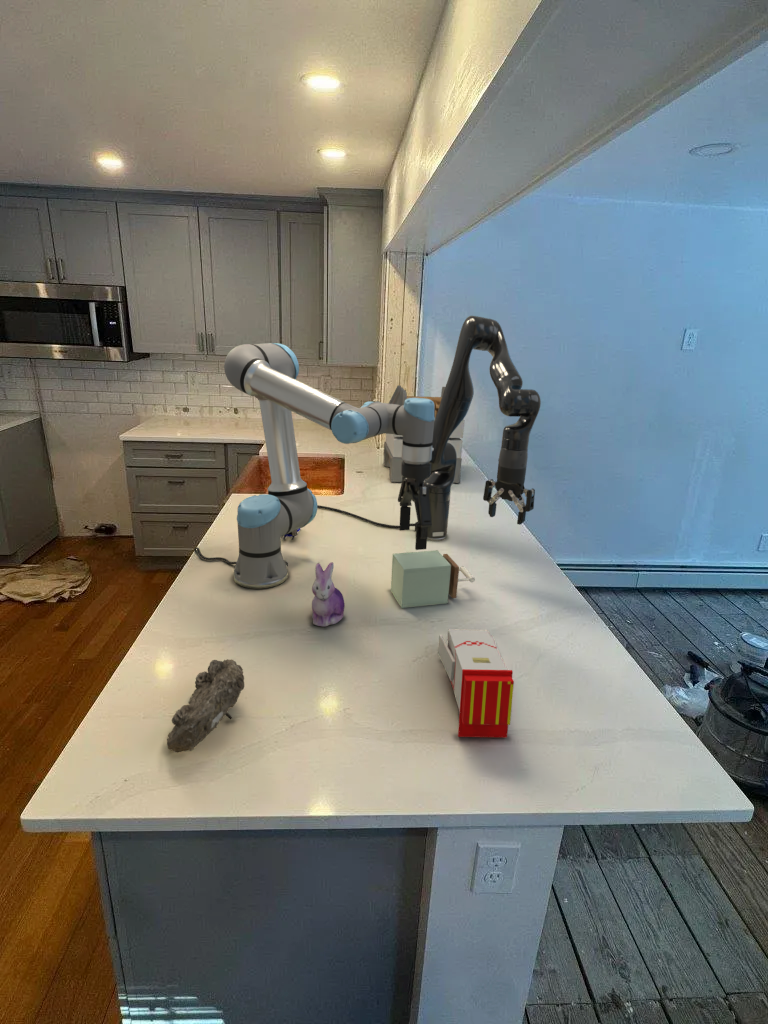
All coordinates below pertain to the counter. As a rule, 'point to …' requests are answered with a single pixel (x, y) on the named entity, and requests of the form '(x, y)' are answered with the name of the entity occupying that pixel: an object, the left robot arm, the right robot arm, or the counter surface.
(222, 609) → the counter surface
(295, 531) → the figurine character
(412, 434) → the left robot arm
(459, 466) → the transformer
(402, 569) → the sage green cube
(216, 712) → the fossil
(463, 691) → the toy
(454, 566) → the drawer
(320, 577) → the figurine
